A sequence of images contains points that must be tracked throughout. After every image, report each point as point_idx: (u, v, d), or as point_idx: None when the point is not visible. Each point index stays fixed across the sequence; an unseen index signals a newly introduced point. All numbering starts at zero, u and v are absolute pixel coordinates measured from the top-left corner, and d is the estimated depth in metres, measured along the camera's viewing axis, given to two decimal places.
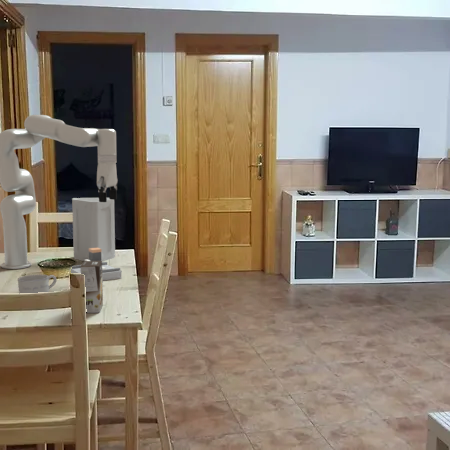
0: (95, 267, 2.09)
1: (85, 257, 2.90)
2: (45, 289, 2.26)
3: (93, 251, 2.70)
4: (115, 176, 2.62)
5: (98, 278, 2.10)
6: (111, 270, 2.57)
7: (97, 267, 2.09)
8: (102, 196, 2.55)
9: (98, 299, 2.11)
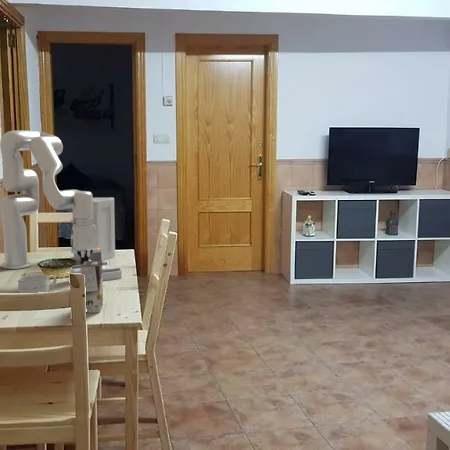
0: (95, 267, 2.09)
1: None
2: (45, 289, 2.26)
3: None
4: None
5: (98, 278, 2.10)
6: (111, 270, 2.57)
7: (97, 267, 2.09)
8: None
9: (98, 299, 2.11)
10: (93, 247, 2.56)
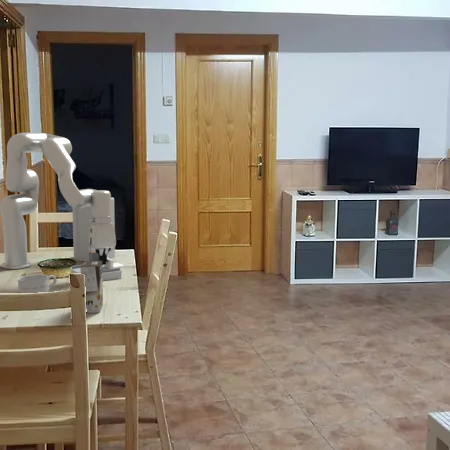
0: (95, 267, 2.09)
1: (85, 257, 2.90)
2: (45, 289, 2.26)
3: None
4: None
5: (98, 278, 2.10)
6: (111, 270, 2.57)
7: (97, 267, 2.09)
8: None
9: (98, 299, 2.11)
10: (111, 245, 2.60)
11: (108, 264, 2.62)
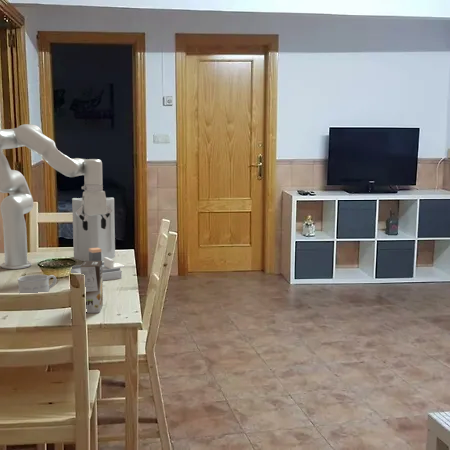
0: (95, 267, 2.09)
1: (85, 257, 2.90)
2: (45, 289, 2.26)
3: (93, 251, 2.70)
4: None
5: (98, 278, 2.10)
6: (111, 270, 2.57)
7: (97, 267, 2.09)
8: None
9: (98, 299, 2.11)
10: (102, 212, 2.69)
11: (108, 264, 2.62)
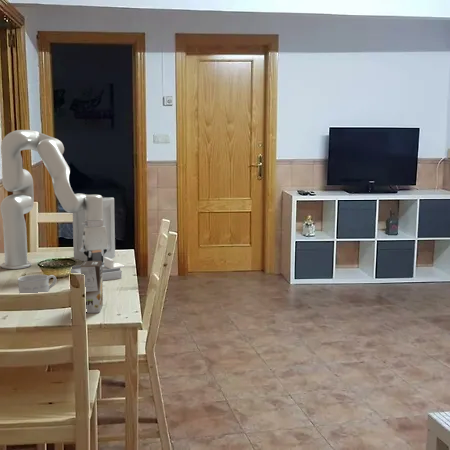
0: (95, 267, 2.09)
1: (85, 257, 2.90)
2: (45, 289, 2.26)
3: (93, 251, 2.70)
4: None
5: (98, 278, 2.10)
6: (111, 270, 2.57)
7: (97, 267, 2.09)
8: None
9: (98, 299, 2.11)
10: (103, 247, 2.72)
11: (108, 264, 2.62)
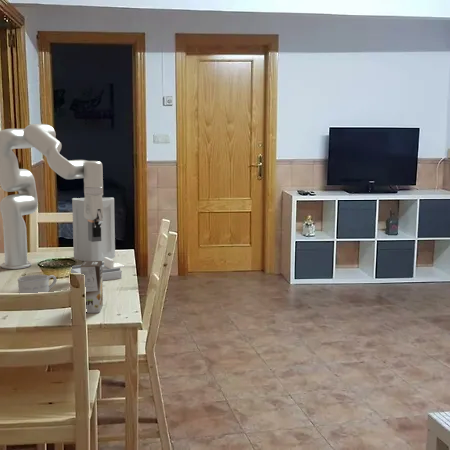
0: (95, 267, 2.09)
1: (85, 257, 2.90)
2: (45, 289, 2.26)
3: (88, 219, 2.58)
4: None
5: (98, 278, 2.10)
6: (111, 270, 2.57)
7: (97, 267, 2.09)
8: (98, 231, 2.56)
9: (98, 299, 2.11)
10: (90, 218, 2.54)
11: (108, 264, 2.62)
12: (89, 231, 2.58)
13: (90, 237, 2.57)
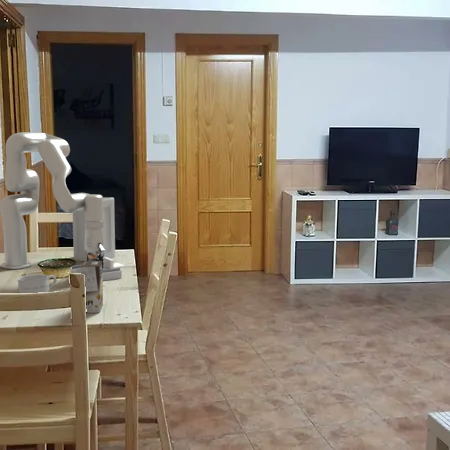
0: (95, 267, 2.09)
1: (85, 257, 2.90)
2: (45, 289, 2.26)
3: (88, 256, 2.60)
4: None
5: (98, 278, 2.10)
6: (111, 270, 2.57)
7: (97, 267, 2.09)
8: None
9: (98, 299, 2.11)
10: (91, 251, 2.56)
11: (108, 264, 2.62)
12: None
13: None
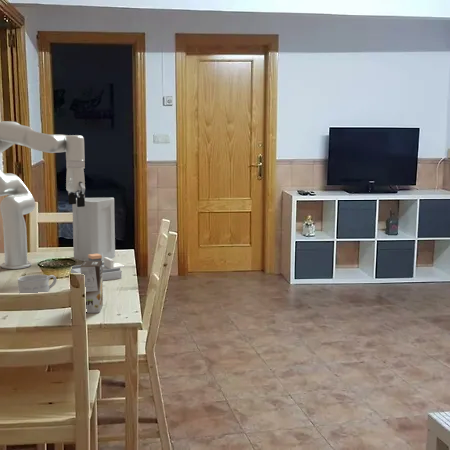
0: (95, 267, 2.09)
1: (85, 257, 2.90)
2: (45, 289, 2.26)
3: (88, 256, 2.60)
4: None
5: (98, 278, 2.10)
6: (111, 270, 2.57)
7: (97, 267, 2.09)
8: (82, 201, 2.62)
9: (98, 299, 2.11)
10: (72, 190, 2.62)
11: (108, 264, 2.62)
12: None
13: None
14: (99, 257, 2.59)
